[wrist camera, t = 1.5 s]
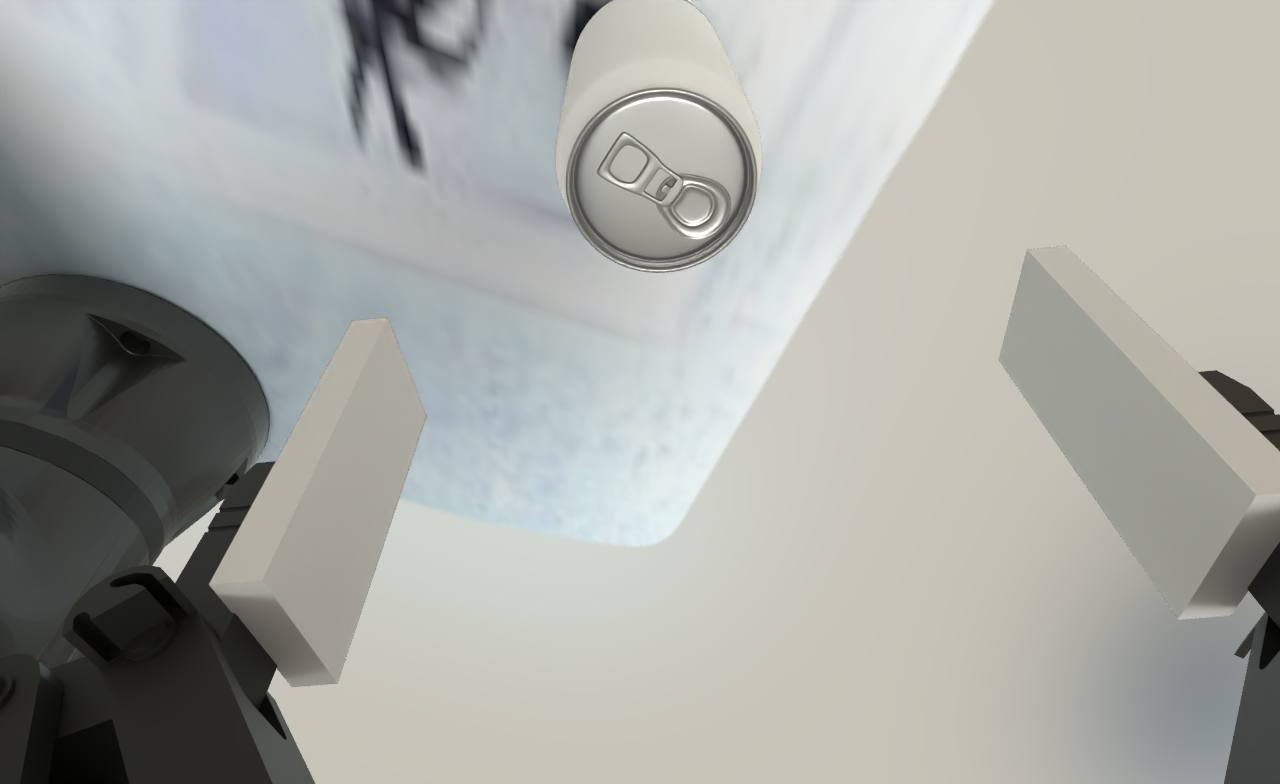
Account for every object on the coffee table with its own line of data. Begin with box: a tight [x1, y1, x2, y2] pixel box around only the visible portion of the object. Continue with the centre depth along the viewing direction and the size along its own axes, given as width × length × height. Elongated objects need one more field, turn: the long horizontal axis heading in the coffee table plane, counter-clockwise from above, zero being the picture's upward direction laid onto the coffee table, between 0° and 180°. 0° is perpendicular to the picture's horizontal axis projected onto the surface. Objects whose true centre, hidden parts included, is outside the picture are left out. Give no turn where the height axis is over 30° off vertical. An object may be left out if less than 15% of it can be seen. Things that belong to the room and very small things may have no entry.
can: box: [556, 0, 762, 273], centre depth 25 cm, size 6×6×12 cm
